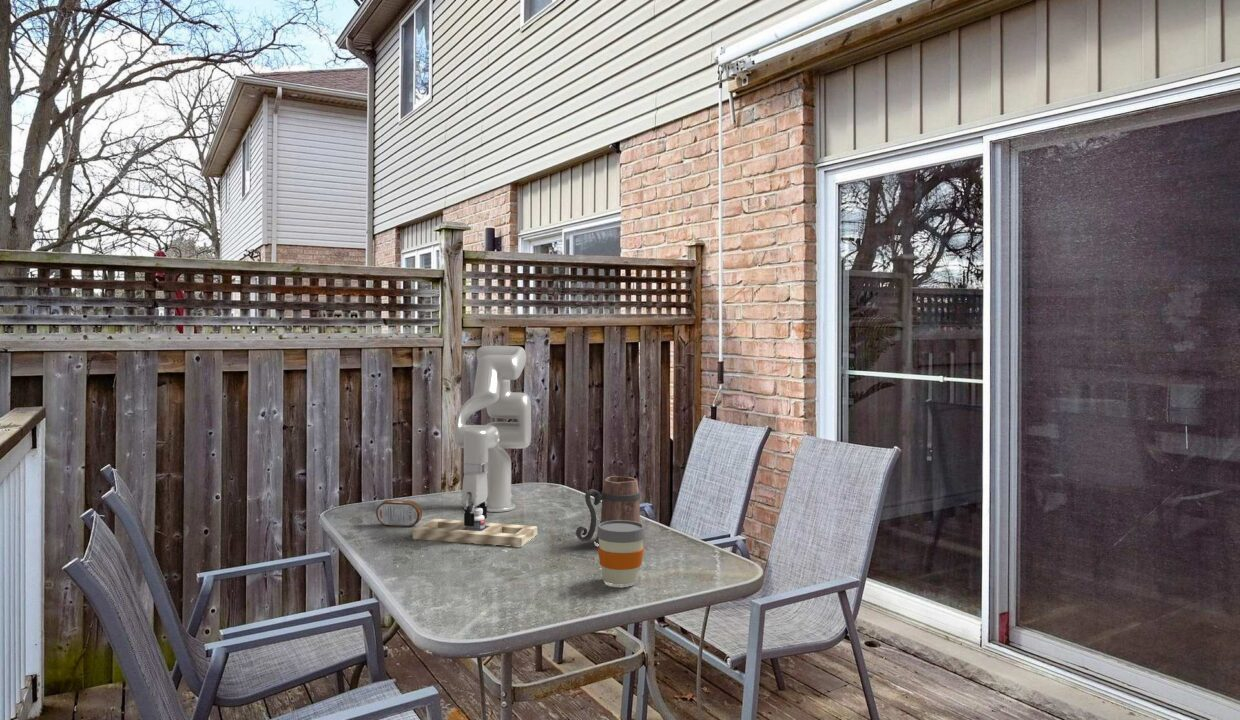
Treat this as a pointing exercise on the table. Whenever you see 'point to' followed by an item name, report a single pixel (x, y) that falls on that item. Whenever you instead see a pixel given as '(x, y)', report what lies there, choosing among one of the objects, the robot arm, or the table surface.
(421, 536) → the wooden rack
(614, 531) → the reusable coffee cup
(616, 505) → the tankard
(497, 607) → the table surface
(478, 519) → the pill bottle
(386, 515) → the tin
